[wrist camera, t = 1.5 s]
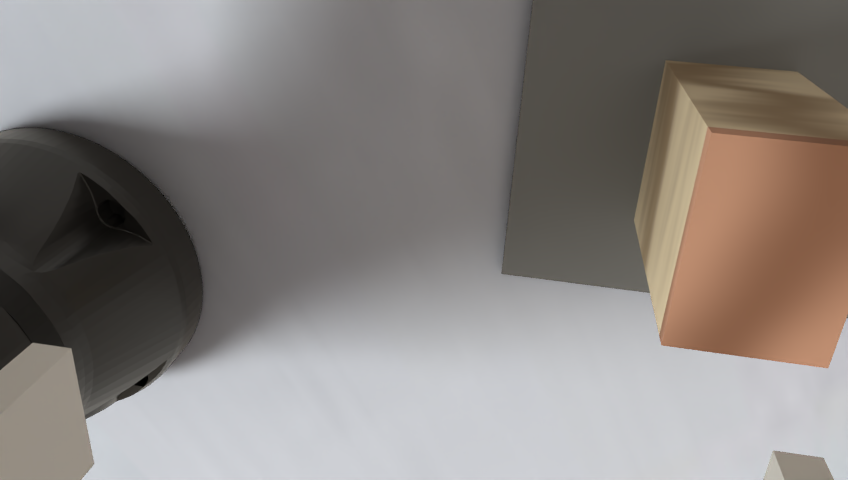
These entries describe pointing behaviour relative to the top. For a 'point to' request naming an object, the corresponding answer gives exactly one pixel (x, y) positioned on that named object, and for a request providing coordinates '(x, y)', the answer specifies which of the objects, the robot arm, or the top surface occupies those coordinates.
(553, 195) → the mat
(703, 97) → the flip block
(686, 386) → the top surface
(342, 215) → the top surface
